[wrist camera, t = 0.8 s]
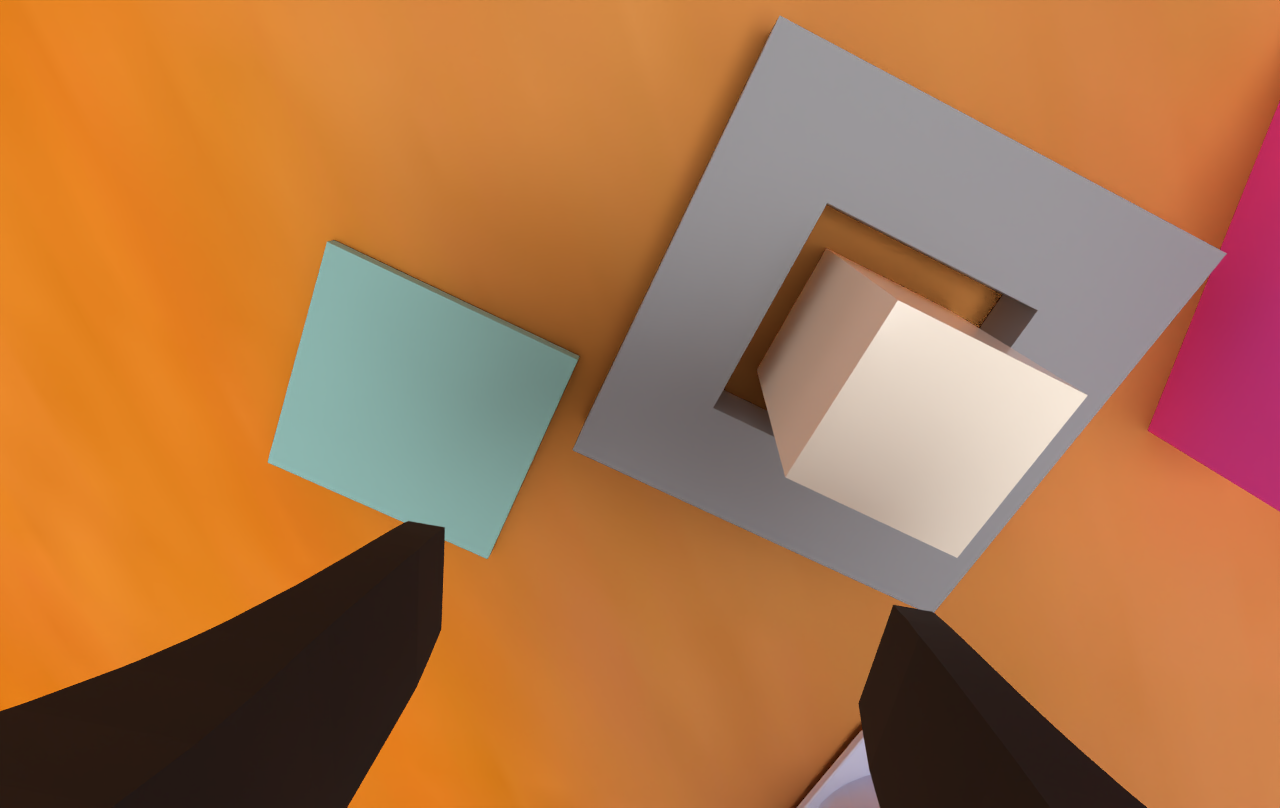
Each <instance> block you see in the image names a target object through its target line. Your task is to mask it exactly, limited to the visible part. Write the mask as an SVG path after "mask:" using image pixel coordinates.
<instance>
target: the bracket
mask: <svg viewBox="0 0 1280 808" xmlns="http://www.w3.org/2000/svg"><path fill="white" fill-rule="evenodd" d="M1220 250H1221V251H1223V252H1225V253H1227V254H1226V255H1225V256H1224V258H1223V259H1222V260H1221V261H1220V263H1219V264H1218V265H1217V266H1216V268H1215V269H1214V270H1213V271H1212V272H1211V274H1210V276H1209V278H1208V281H1207V283H1206V286H1205V288H1204V291H1203V293H1202V296H1201V298H1200V301H1199V303H1198V306H1197V308H1196V311H1195V313H1194V316H1193V318H1192V321H1191V323H1190V326H1189V328H1188V331H1187V333H1186V336H1185V338H1184V341H1183V343H1182V346H1181V348H1180V351H1179V353H1178V356H1177V358H1176V361H1175V363H1174V366H1173V368H1172V371H1171V373H1170V376H1169V378H1168V381H1167V383H1166V386H1165V388H1164V391H1163V393H1162V396H1161V398H1160V401H1159V403H1158V406H1157V408H1156V411H1155V413H1154V416H1153V418H1152V421H1151V423H1150V426H1149V428H1148V431H1149V432H1151V433H1153V434H1154V435H1156V436H1157V437H1159V438H1161V439H1162V440H1164V441H1166V442H1167V443H1169V444H1171V445H1172V446H1174V447H1175V448H1177V449H1179V450H1180V451H1182V452H1184V453H1185V454H1187V455H1188V456H1190V457H1192V458H1193V459H1195V460H1197V461H1198V462H1200V463H1202V464H1203V465H1205V466H1206V467H1208V468H1210V469H1211V470H1213V471H1215V472H1216V473H1218V474H1220V475H1221V476H1223V477H1224V478H1226V479H1228V480H1229V481H1231V482H1233V483H1234V484H1236V485H1238V486H1239V487H1241V488H1242V489H1244V490H1246V491H1247V492H1249V493H1251V494H1252V495H1254V496H1256V497H1257V498H1259V499H1260V500H1262V501H1264V502H1265V503H1267V504H1269V505H1270V506H1272V507H1273V508H1275V509H1277V510H1278V511H1280V102H1279V104H1278V107H1277V109H1276V112H1275V114H1274V116H1273V119H1272V121H1271V124H1270V126H1269V129H1268V131H1267V134H1266V136H1265V139H1264V141H1263V144H1262V146H1261V149H1260V151H1259V154H1258V156H1257V159H1256V161H1255V164H1254V166H1253V169H1252V171H1251V174H1250V176H1249V179H1248V181H1247V184H1246V186H1245V189H1244V191H1243V194H1242V196H1241V199H1240V201H1239V204H1238V206H1237V209H1236V211H1235V214H1234V216H1233V219H1232V221H1231V224H1230V226H1229V229H1228V231H1227V234H1226V236H1225V239H1224V241H1223V244H1222V246H1221V249H1220Z"/></svg>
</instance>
